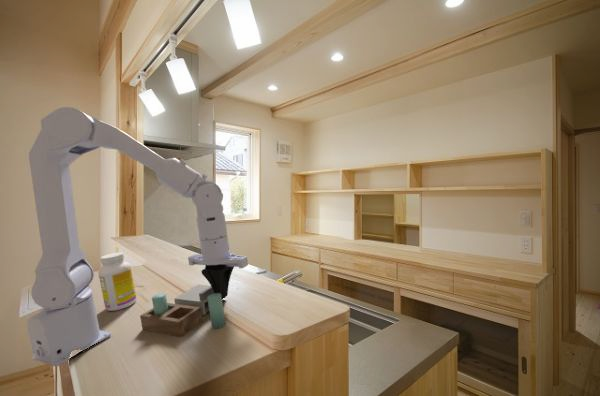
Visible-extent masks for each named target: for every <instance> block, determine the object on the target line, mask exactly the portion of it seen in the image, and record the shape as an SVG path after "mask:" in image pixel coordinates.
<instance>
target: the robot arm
mask: <svg viewBox="0 0 600 396" xmlns="http://www.w3.org/2000/svg"><path fill="white" fill-rule="evenodd" d="M40 126H41V129H40V130H39V132H38V135H37V136H36V138H35V140H34V142H33V144H32V146H31V149H30V150H29V152H28V161H29V167H30V174H31V175H30V176H31V181H32V188H33V195H34V202H35V209H36V215H37V216H36V217H37V224H38V230H39V238H40V244H41V251H42V252H41V253H42V254H41V257H40V259H39V261H38V263H37V265H36V268H35V270H34V273H35V280H34V283H33V285H32V287H31V291H30V293H31V294H30V295H31V298H32V300H33V301H34V303H35V304H36V305H37V306H38V307H41V308H42V310H40V311H39V312H37V313H35V314H34V315H31V316H30V317H29V318H28V320H27V324H26V325H27V333H28V336H29V342H30V345H31V350H32V354H33V355H32V360H35V361H38V362H40V363H43V364H46V365H49V366H53V367H59V366H62V364H64V363H66V362H68V361H70V359H69V357H70V354H71V352H72V351H74V350H79V349H80V350H84V349H86V348H88V347H90V346H92V345H94V344H95V345H97V344H99V343H100V342H102V341H104V340H105V339H107V338H108V337H110V336H111V335H112V332H109V331H104V330H102V329H101V330H100V324H99V320H98V315H97V314H98V313H97V309H96V305H95V300H94V299H95V298H94V295H93V290H92V289H91V287H90V284H91V283H92V282H93V280H94V275H95V271H94V269H93V267H92V265H91V264H90V263H89V262H88V260H87V254H86V252H85V250H83V248H81V247H80V241H79V234H78V233H79V231H78V224H77V217H76V210H75V201H74V195H73V187H72V180H71V179H72V178H71V172H70V171H71V170H70V165H71V164H73V162H75V161H76V160H77V159H79V158H81V157H82V156H83V155H84V154H87V153H89V152H91V151H94V150H97V149H99V148H104V149H108V150H109V149H110V150H117V151H118V152H120V153H122V154H124V155H126V156H127V157H129V158H131V159H133V160H135V161H136V162H138V163H140V164H141V165H143V166H145V167H147V168H148V169H150V170H152V171H154V173H155V174H156V179H157V181H158V182H159V183H160V184H162V185H164V186H166V187H167V188H169V189H170V190H172V191H174V192H175V193H177V194H178V195H180V196H182V197H184V198H185V199H188V198H189V199H191V200H192V203H193V204H194V206H195V209H196V215H197V217H196V223H197V230H198V237H199V243H200V251H201V254H200V253H198V254H197V253H196V254H195V253H194V254H192V255H190V256H188V257H187V259H188V265H189V266H194V265H198V266H205V267H204V268H203V269H202V270H201V274H202V276H203V277H204V278H205V279H206V280H207V281H208V283H209V286H211V287H212V289H213V291H214V293H220V294H221V297H222V299H223V298H225V297H226V298H227V296H228V292H229V284H230V279H231V275H232V273H233V270H234V268H238V269H245V268H246V267H248V266H249V265H248V264H249V261H248V256H247V255H246V256H245V255H240V254H235V253H232V251H230V245H229V238H228V231H227V224H226V223H227V222H226V216H225V213H224V205H223V204H222V202H223V198H224V194H223V192H222V189H221V188H220V186H219V185H218V184H216V182H214V180H210V179H207V178H208V175H206V174H205V173H202V174H201V173H199V172H198V171H197V170H195V169H194V168H192V167H191V166H188V165H187V164H188V162H187V161H186V160H184V159H183V158H180V160H179V159H178V158H176V157H170V158H164V157H162V156H161V155H160V154H158V153H156V152H154V151H153V150H151V149H150V148H148V147H147V146H146V145H144V144H143V143H141V142H140V141H138V140H136V139H135V138H134V137H132V136H131V135H129V134H127V133H126V132H125V131H123V130H121V129H119V128H118V127H115V126H113V125H111V124H109V123H108V122H105V121H102V120H100V119H98V118H96V117H94V116H90V115H88V114H86V113H84V112H83V111H82V110H80V109H78V108H75V107H69V106H66V107H65V106H64V107H59V108H56V109H55V110H53V111H52V112H50V113H48V114H47V115H45V117H42V118H41V119H40ZM98 342H99V343H98ZM96 343H97V344H96ZM95 345H94V346H95ZM92 347H93V346H92ZM90 348H91V347H90ZM88 349H89V348H88Z"/></svg>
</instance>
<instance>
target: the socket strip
mask: <svg viewBox="0 0 600 396" xmlns="http://www.w3.org/2000/svg"><path fill="white" fill-rule="evenodd" d="M167 304H168V310H169V311H167V312H166V313H164V314H162V315H161V316H158V315H155V314H154V308H151V309H149V310H147V311H145V312H143V313H142V314H141V315H139V317H140V322H141V323H140V324H141V328H142V330H144V331H147V332H154V333H158V334H163V335H169V336H175V337H178V338H182V337H184V336H185V335H186V334H188V333H189V332H190V331H191V330H193V329H194V328H196V327H197V326H198V325H200V324H201V323H202V322H203V315H201V308H200V307H194V306H187V305H179V304H175V303H171V302H167Z"/></svg>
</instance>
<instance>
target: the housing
mask: <svg viewBox="0 0 600 396" xmlns="http://www.w3.org/2000/svg"><path fill="white" fill-rule="evenodd" d="M211 294H214V291H213V289H212V287H211V285H210V284H209V285H208V284H207V285H206V284H197V285H195V286H193V287H192V288H190V289H188V290H186V291H185V292H183V293H181V294H179V295H177V296H176V297H174V299H173V300H174V304H179V305H187V306H194V307H200V308H201V315H202V316H205V315H206V314H207V312H206V310H205V304H204V303H205V302H207V301H208V298H207V297H208V296H209V295H211Z"/></svg>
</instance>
